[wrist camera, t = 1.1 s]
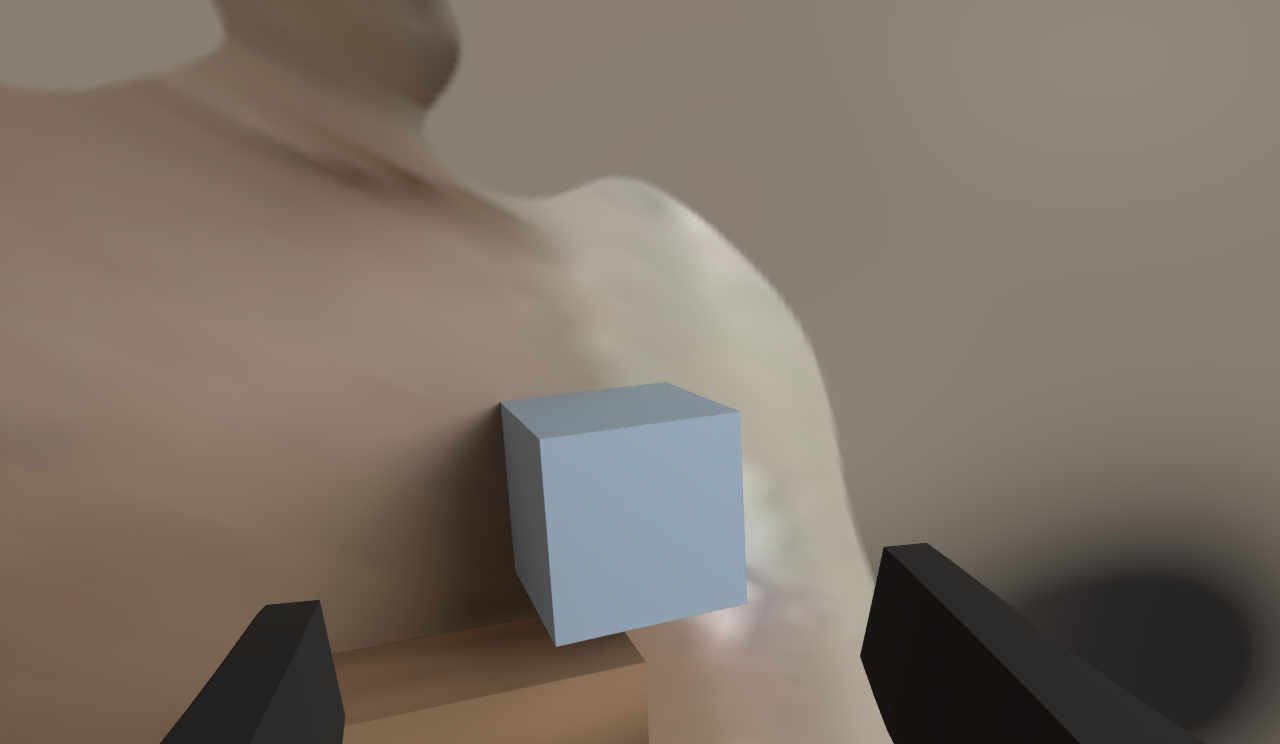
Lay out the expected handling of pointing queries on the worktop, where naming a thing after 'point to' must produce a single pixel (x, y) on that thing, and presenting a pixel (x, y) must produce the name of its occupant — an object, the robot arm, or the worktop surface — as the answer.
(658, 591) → the slate cube
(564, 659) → the walnut block
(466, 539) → the worktop surface
